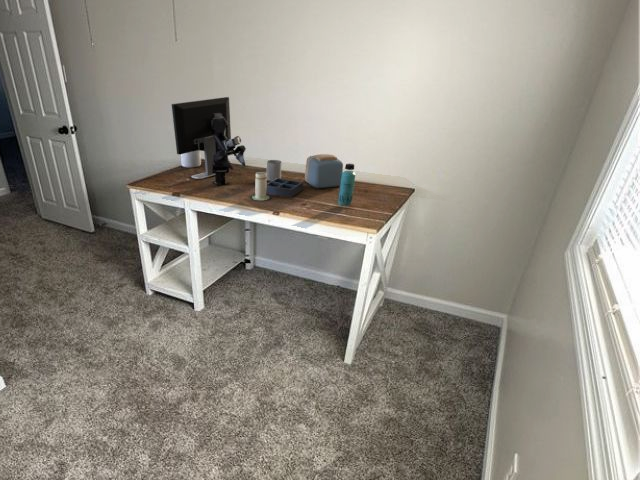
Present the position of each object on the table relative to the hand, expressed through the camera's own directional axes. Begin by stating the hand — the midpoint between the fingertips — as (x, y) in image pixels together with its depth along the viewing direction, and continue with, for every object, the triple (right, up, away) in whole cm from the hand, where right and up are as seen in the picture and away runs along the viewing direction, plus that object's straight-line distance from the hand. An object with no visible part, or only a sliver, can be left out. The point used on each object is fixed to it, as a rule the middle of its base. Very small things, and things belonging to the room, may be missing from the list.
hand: (238, 167), depth 211 cm
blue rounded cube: (+47, -3, +21) cm, 51 cm away
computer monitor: (-18, +8, +38) cm, 43 cm away
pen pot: (+11, -15, +1) cm, 19 cm away
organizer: (+24, -10, +10) cm, 27 cm away
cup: (+20, +2, +29) cm, 35 cm away
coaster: (+11, -15, +1) cm, 19 cm away
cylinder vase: (-31, +19, +57) cm, 67 cm away
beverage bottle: (+51, -22, -10) cm, 56 cm away
